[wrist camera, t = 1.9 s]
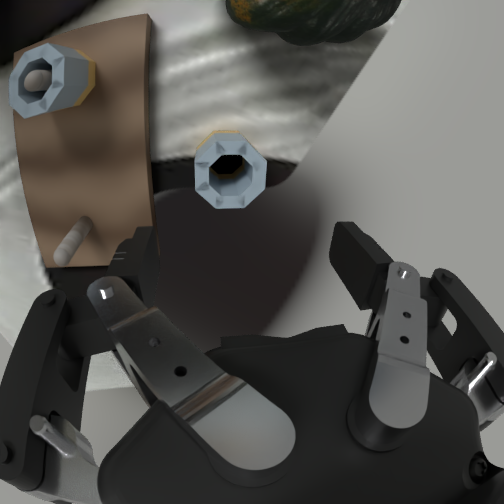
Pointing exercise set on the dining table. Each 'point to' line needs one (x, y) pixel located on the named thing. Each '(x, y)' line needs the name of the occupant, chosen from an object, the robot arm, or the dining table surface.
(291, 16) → the squash
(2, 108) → the dining table surface
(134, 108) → the pin board
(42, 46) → the seated sleeve
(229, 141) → the slate sleeve
